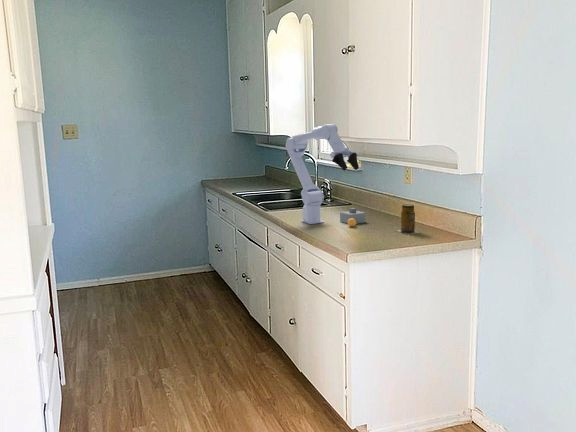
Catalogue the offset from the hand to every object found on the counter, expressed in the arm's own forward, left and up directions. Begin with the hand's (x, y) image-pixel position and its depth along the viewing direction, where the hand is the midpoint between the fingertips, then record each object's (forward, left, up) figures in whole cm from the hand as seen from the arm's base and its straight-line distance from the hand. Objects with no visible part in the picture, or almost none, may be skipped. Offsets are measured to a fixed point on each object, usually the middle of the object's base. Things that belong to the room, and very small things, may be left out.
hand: (351, 168), depth 255 cm
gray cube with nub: (-16, +12, -28) cm, 35 cm away
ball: (-7, +5, -26) cm, 28 cm away
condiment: (+18, +18, -29) cm, 38 cm away
